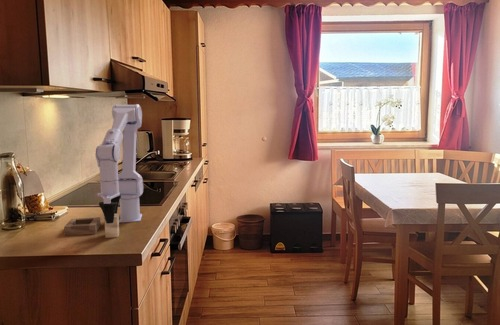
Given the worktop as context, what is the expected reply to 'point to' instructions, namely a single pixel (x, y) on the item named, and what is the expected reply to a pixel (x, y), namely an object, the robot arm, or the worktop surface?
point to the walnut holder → (82, 226)
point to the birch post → (112, 227)
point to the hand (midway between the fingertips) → (111, 219)
